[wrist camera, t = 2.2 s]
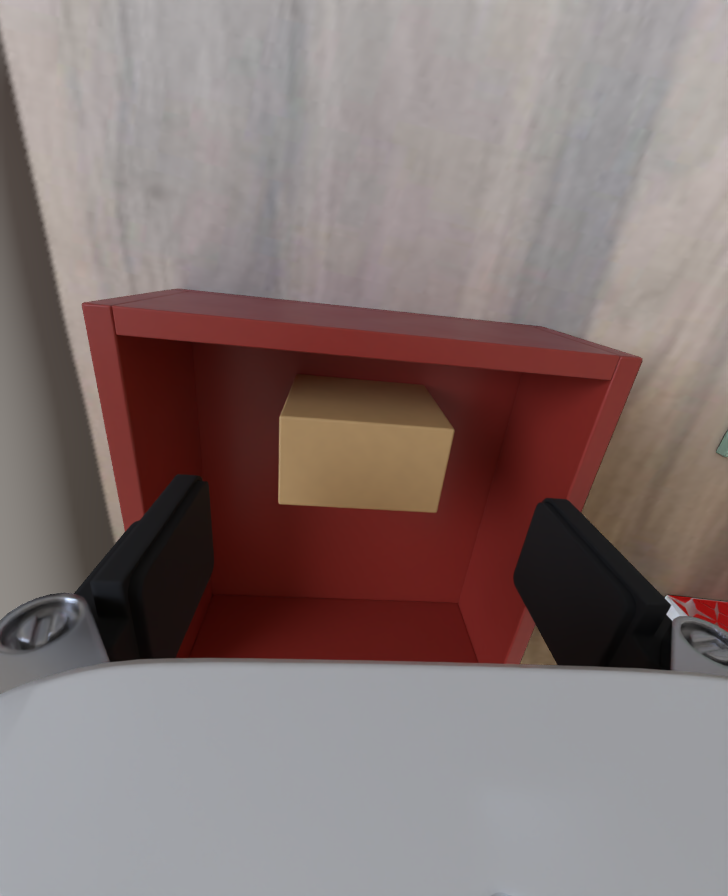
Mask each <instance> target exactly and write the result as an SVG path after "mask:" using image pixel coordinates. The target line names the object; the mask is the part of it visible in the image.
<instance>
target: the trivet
mask: <svg viewBox="0 0 728 896" xmlns="http://www.w3.org/2000/svg"><path fill="white" fill-rule="evenodd" d="M716 453H718V454H720V455H722V456H724V457H728V430H727V432H726V434H725V436H724V438H723V440H722V442H721V443H720V445H719V447H718V449H717V451H716Z"/></svg>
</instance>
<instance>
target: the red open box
mask: <svg viewBox="0 0 728 896" xmlns="http://www.w3.org/2000/svg"><path fill="white" fill-rule="evenodd" d="M82 309H83V314H84V319H85V324H86V330H87V335H88V340H89V345H90V351H91V356H92V361H93V366H94V372H95V377H96V382H97V387H98V392H99V398H100V403H101V408H102V413H103V419H104V424H105V429H106V434H107V439H108V445H109V450H110V455H111V460H112V466H113V471H114V476H115V481H116V487H117V492H118V497H119V502H120V507H121V513H122V518H123V523H124V528H125V532H126V530H127V529H128V528H129V527H130V525H132V524H133V523H134V522H135V521H140V519H141V518H142V517H143V516H144V514H145V513H146V512H147V511H148V510H149V508H150V507H151V506H152V505H153V503H154V502H155V501H156V500H157V498H158V497H159V496H160V495H161V493H162V492H163V491H164V490H165V489H166V487H167V486H168V485H169V484H170V482H171V481H172V480H173V479H174V477H175V476H176V475H177V474H182V475H197V476H201V478H202V481H207V482H208V484H209V493H210V507H211V521H212V536H213V550H214V567H213V571H212V574H211V577H210V579H209V581H208V584H207V586H206V588H205V591H204V593H203V595H202V598H201V600H200V602H199V605H198V607H197V609H196V612H195V614H194V616H193V619H192V621H191V623H190V625H189V628H188V630H187V632H186V635H185V637H184V639H183V642H182V644H181V646H180V649H179V651H178V653H177V656H176V658H266V659H321V660H373V661H416V662H457V663H496V664H520V662H521V659H522V657H523V655H524V652H525V650H526V647H527V645H528V642H529V640H530V637H531V635H532V632H533V630H534V627H535V625H536V624H535V622H534V621H533V619H532V617H531V615H530V613H529V611H528V609H527V608H526V606H525V604H524V602H523V600H522V598H521V597H520V595H519V593H518V591H517V589H516V587H515V585H514V581H513V574H514V571H515V568H516V565H517V562H518V559H519V556H520V553H521V550H522V547H523V544H524V541H525V538H526V535H527V532H528V529H529V526H530V523H531V520H532V517H533V514H534V511H535V508H536V506H537V504H538V503H540V502H542V501H543V500H544V499H545V498H557V499H567V500H568V501H570V502H571V503H572V504H573V505H574V506H575V507H576V508H577V509H578V510H579V511H580V512H581V511H582V509H583V506H584V504H585V501H586V499H587V497H588V494H589V492H590V489H591V487H592V484H593V482H594V479H595V477H596V474H597V472H598V469H599V467H600V464H601V462H602V460H603V457H604V455H605V452H606V450H607V447H608V445H609V442H610V440H611V437H612V435H613V432H614V430H615V427H616V425H617V422H618V420H619V418H620V415H621V413H622V410H623V408H624V405H625V403H626V400H627V398H628V395H629V393H630V390H631V388H632V385H633V383H634V381H635V378H636V376H637V373H638V371H639V368H640V366H641V363H642V358H641V357H638V356H635V355H632V354H628V353H625V352H622V351H619V350H615V349H612V348H609V347H606V346H603V345H599V344H596V343H593V342H590V341H587V340H583V339H580V338H577V337H574V336H571V335H567V334H564V333H561V332H558V331H555V330H551V329H548V328H545V327H541V326H532V325H522V324H513V323H503V322H493V321H484V320H474V319H464V318H455V317H445V316H436V315H426V314H416V313H407V312H397V311H387V310H378V309H368V308H359V307H349V306H339V305H330V304H320V303H310V302H301V301H291V300H282V299H272V298H262V297H253V296H243V295H233V294H224V293H214V292H205V291H195V290H185V289H171V290H164V291H157V292H151V293H144V294H137V295H131V296H124V297H117V298H111V299H104V300H98V301H91V302H84V303H82ZM297 374H302V375H313V376H325V377H336V378H348V379H359V380H371V381H382V382H394V383H406V384H417V385H424V386H425V387H426V389H427V390H428V392H429V393H430V395H431V396H432V397H433V399H434V400H435V402H436V403H437V405H438V406H439V408H440V409H441V411H442V412H443V413H444V415H445V416H446V418H447V419H448V421H449V422H450V424H451V425H452V427H453V428H454V430H455V432H454V436H453V441H452V445H451V450H450V455H449V459H448V464H447V468H446V473H445V478H444V482H443V487H442V491H441V496H440V501H439V505H438V510H437V512H436V513H427V512H409V511H391V510H373V509H356V508H338V507H320V506H302V505H284V504H279V502H278V482H279V417H280V415H281V412H282V410H283V407H284V404H285V402H286V399H287V397H288V394H289V392H290V389H291V387H292V384H293V382H294V379H295V377H296V375H297Z"/></svg>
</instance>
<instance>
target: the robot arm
mask: <svg viewBox="0 0 728 896" xmlns="http://www.w3.org/2000/svg"><path fill="white" fill-rule="evenodd" d="M213 567H214V550H213V536H212V521H211V507H210V493H209V484H208V482H207V481H202V478H201V476H197V475H182V474H177V475H176V476H175V477H174V479H173V480H172V481H171V482H170V484H169V485H168V486H167V487H166V489H165V490H164V491H163V492H162V493H161V495H160V496H159V497H158V498H157V500H156V501H155V502H154V503H153V505H152V506H151V507H150V508H149V510H148V511H147V512H146V513H145V514H144V516H143V517H142V518H141V519H140V521H135V522H134V523H133V524H132V525H130V527H129V528H128V529H127V530H126V532H125V533H124V534H123V535H122V536H121V538H120V539H119V540H118V541H117V542H116V544H115V545H114V546H113V547H112V548H111V550H110V551H109V552H108V553H107V554H106V556H105V557H104V558H103V559H102V561H101V562H100V563H99V564H98V565H97V566H96V568H95V569H94V570H93V571H92V573H91V574H90V575H89V576H88V577H87V579H86V580H85V581H84V582H83V584H82V585H81V586H80V587H79V588H78V590H77V591H76V592H75V593H74V594H72V593H57V594H50V595H46V596H43V597H39V598H36V599H34V600H32V601H29V602H27V603H25V604H22V605H20V606H19V607H17V608H16V609H14V610H12V611H11V612H9V613H8V614H7V615H6V616H5V617H3V618H2V619H1V620H0V896H728V632H727V631H725V630H724V629H722V628H720V627H718V626H716V625H714V624H712V623H710V622H708V621H705V620H702V619H700V618H696V617H691V616H679V617H677V618H675V619H673V621H672V620H671V619H670V618H669V617H668V616H667V615H666V614H667V612H668V610H669V609H670V607H671V604H670V603H669V602H668V601H667V600H666V599H665V598H664V597H663V596H662V595H661V594H660V593H659V592H658V591H657V590H656V589H655V588H654V587H653V586H652V585H651V584H650V583H649V582H648V581H647V580H646V579H645V578H644V577H643V576H642V575H641V574H640V573H639V572H638V571H637V570H636V568H635V567H634V566H633V565H632V564H631V563H630V562H629V561H628V560H627V559H626V558H625V557H624V556H623V555H622V554H621V553H620V552H619V551H618V550H617V549H616V548H615V547H614V546H613V545H612V544H611V543H610V542H609V541H608V540H607V539H606V538H605V537H604V536H603V535H602V534H601V533H600V532H599V531H598V530H597V529H596V528H595V527H594V526H593V525H592V524H591V523H590V522H589V521H588V520H587V519H586V518H585V517H584V515H583V514H582V513H581V512H580V511H579V510H578V509H577V508H576V507H575V506H574V505H573V504H572V503H571V502H570V501H568V500H567V499H557V498H545V499H544V500H543V501H542V502H540V503H538V504H537V506H536V508H535V511H534V514H533V517H532V520H531V523H530V526H529V529H528V532H527V535H526V538H525V541H524V544H523V547H522V550H521V553H520V556H519V559H518V562H517V565H516V568H515V571H514V574H513V581H514V585H515V587H516V589H517V591H518V593H519V595H520V597H521V598H522V600H523V602H524V604H525V606H526V608H527V609H528V611H529V613H530V615H531V617H532V619H533V621H534V622H535V624H536V626H537V628H538V630H539V632H540V633H541V635H542V637H543V639H544V641H545V643H546V644H547V646H548V648H549V650H550V652H551V654H552V655H553V657H554V659H555V661H556V663H557V665H529V664H496V663H457V662H416V661H373V660H321V659H266V658H176V656H177V653H178V651H179V649H180V646H181V644H182V642H183V639H184V637H185V635H186V632H187V630H188V628H189V625H190V623H191V621H192V619H193V616H194V614H195V612H196V609H197V607H198V605H199V602H200V600H201V598H202V595H203V593H204V591H205V588H206V586H207V584H208V581H209V579H210V577H211V574H212V571H213Z"/></svg>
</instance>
